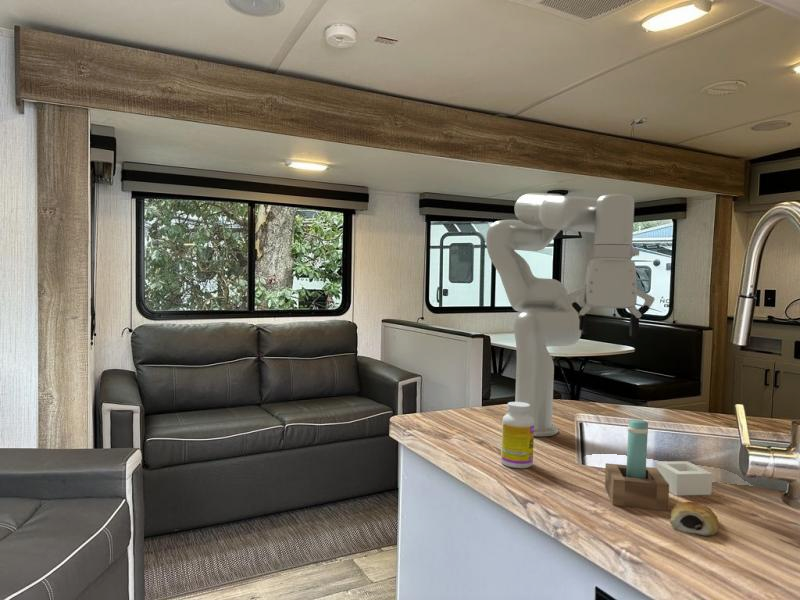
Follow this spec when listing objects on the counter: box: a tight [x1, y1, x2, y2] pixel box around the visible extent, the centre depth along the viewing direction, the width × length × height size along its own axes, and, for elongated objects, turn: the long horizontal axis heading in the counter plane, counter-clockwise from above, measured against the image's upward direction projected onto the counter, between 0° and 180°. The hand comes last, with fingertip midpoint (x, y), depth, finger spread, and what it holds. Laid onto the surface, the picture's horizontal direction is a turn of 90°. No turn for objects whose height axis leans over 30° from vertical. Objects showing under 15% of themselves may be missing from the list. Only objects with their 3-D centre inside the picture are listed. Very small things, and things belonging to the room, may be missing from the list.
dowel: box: [626, 418, 649, 479], centre depth 100 cm, size 3×3×14 cm
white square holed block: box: [654, 460, 713, 497], centre depth 106 cm, size 7×7×4 cm
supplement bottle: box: [500, 401, 535, 469], centre depth 117 cm, size 7×7×13 cm
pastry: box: [669, 501, 720, 537], centre depth 90 cm, size 9×7×4 cm
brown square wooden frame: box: [604, 463, 670, 512], centre depth 100 cm, size 9×9×4 cm
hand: (608, 335), depth 117 cm, fingers open, 9 cm apart
